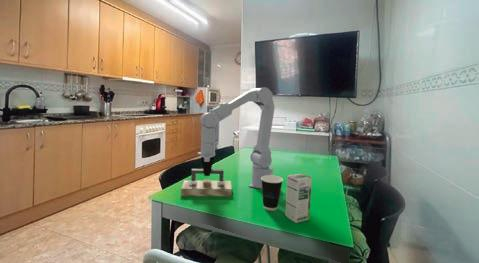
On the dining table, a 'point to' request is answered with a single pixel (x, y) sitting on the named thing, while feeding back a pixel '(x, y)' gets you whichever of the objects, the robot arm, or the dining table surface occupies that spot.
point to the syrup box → (298, 197)
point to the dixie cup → (271, 191)
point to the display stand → (206, 188)
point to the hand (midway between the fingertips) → (207, 174)
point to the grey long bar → (213, 171)
